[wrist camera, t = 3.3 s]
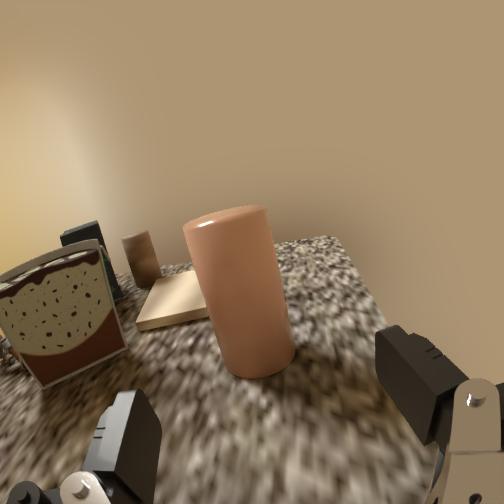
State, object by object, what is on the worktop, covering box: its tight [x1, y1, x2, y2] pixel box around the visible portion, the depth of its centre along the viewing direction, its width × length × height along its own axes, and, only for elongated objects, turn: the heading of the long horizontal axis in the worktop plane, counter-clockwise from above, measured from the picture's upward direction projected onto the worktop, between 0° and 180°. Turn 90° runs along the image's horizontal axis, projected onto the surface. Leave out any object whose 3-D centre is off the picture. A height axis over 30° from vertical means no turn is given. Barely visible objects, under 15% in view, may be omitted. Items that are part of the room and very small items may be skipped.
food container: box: [0, 239, 129, 390], centre depth 24 cm, size 12×6×10 cm, turn 130°
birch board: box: [135, 270, 209, 331], centre depth 34 cm, size 14×12×1 cm
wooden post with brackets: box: [0, 335, 27, 371], centre depth 25 cm, size 2×8×4 cm, turn 77°
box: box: [60, 220, 122, 301], centre depth 39 cm, size 8×6×11 cm
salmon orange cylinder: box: [183, 205, 295, 379], centre depth 20 cm, size 5×5×10 cm
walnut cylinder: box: [121, 230, 163, 288], centre depth 41 cm, size 4×4×7 cm
